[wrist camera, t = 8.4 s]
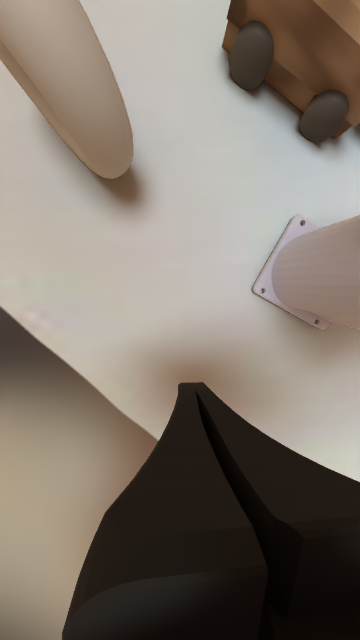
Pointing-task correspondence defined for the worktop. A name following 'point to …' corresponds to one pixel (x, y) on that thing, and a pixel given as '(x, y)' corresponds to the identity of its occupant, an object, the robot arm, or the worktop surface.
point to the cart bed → (301, 57)
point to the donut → (68, 79)
